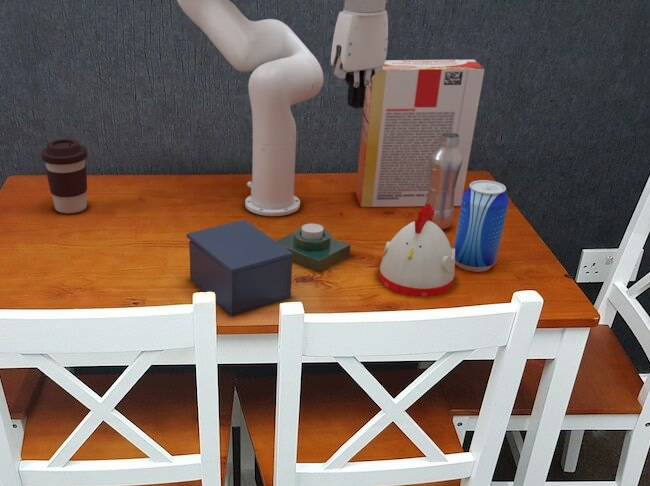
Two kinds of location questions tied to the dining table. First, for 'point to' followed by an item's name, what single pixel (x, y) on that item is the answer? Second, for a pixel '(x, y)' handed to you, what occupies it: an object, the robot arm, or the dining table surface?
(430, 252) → the kitchen timer
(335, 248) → the push button base
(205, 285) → the box
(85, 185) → the coffee cup
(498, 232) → the beer can
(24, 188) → the dining table surface
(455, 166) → the plastic bottle
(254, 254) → the lid
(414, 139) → the cereal box
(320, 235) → the white button
